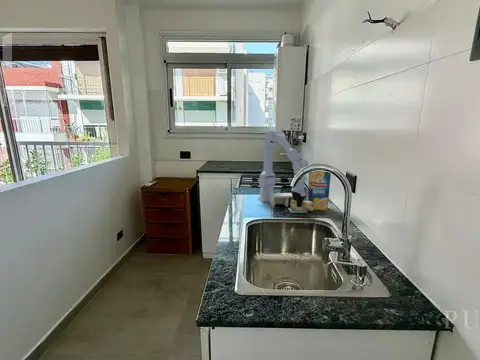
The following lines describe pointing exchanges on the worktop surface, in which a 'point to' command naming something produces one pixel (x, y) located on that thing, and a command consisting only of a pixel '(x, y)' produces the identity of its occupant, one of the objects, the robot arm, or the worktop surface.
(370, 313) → the worktop surface
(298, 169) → the robot arm
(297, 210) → the teal mat
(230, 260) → the worktop surface
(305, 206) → the beech bar
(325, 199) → the beverage box
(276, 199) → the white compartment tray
